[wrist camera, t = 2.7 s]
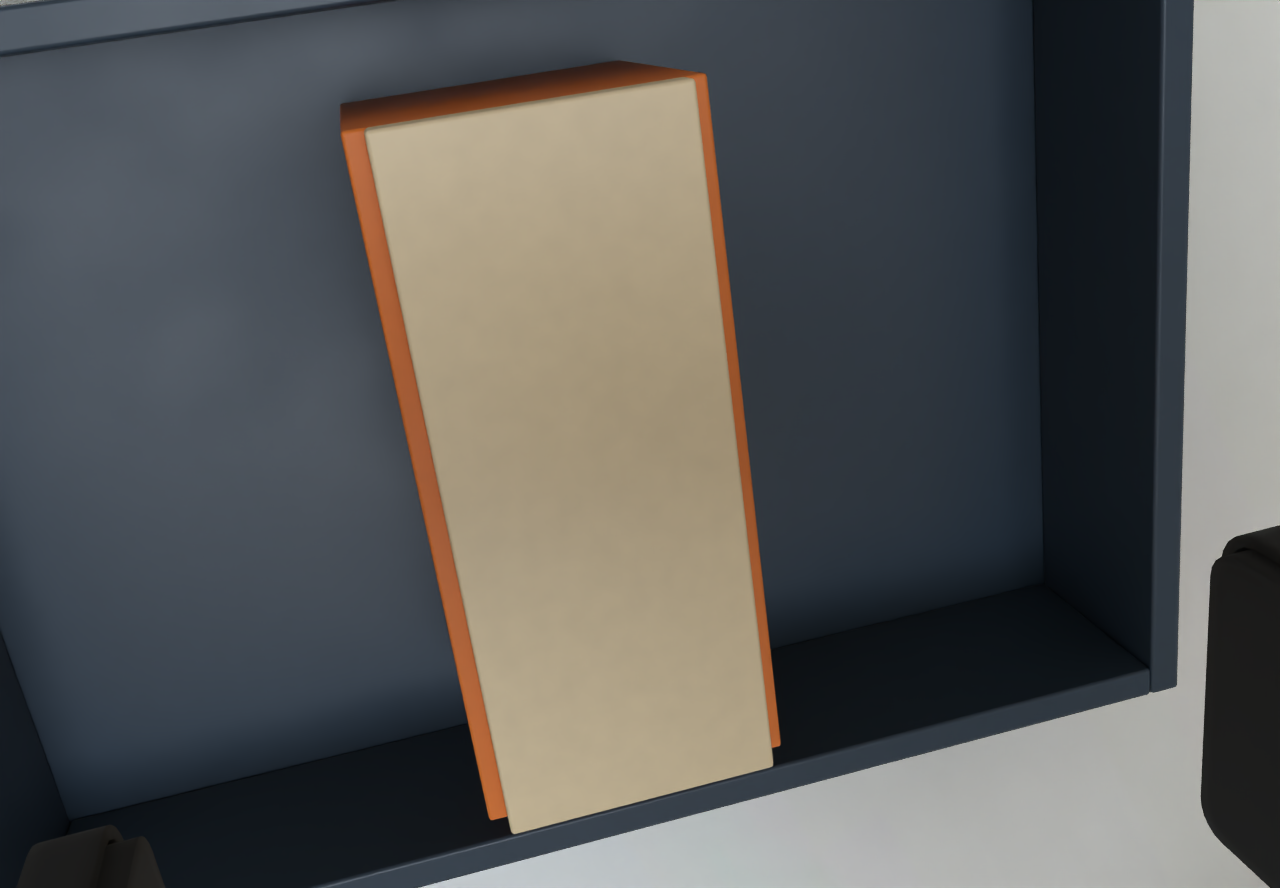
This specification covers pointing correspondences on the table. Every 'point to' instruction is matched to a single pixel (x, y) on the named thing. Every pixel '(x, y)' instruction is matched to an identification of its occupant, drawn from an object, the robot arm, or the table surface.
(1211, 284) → the table surface
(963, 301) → the parts bin
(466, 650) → the orange cream block
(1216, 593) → the robot arm
